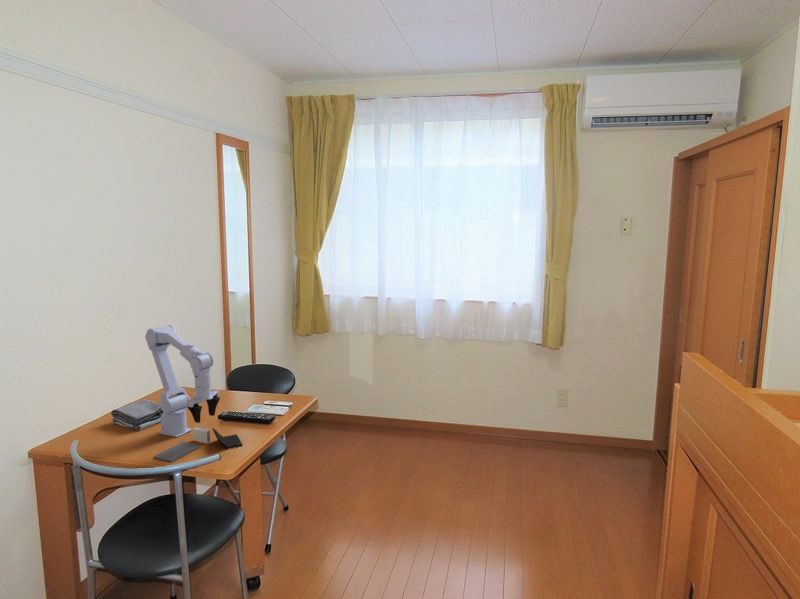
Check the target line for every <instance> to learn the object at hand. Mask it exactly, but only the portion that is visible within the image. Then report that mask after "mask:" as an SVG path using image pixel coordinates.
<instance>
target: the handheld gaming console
mask: <svg viewBox="0 0 800 599" xmlns="http://www.w3.org/2000/svg"><path fill="white" fill-rule="evenodd" d="M211 429H212V432H213V433H214V436H215V437H216V440H218V441H219V442H220V443H221V444H222V445H223V446H224V447H225V449H226V450H229V449H228V448H231V449H234V448H233V447H236V448H240V447H243V442H242V441H241V439H240V437H239V436H238V434H231V435H230V434H229V435H225V436H223V435H221V434H220V433H219V432H218V431H217V430H216V429H215V428H214V427H213V428H211ZM239 446H240V447H239Z"/></svg>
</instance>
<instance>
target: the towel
mask: <svg viewBox="0 0 800 599" xmlns="http://www.w3.org/2000/svg"><path fill="white" fill-rule="evenodd" d="M110 414H111V416H112V422H111V423H113V424H115V425H117V424H118V425H117V426H121V427H126V428H129V427H131V428H130V429H133V428H134V430H136V429H138V430H137V431H143V430H145V429H147V428H150V427H152V426H151V425H153V424H155V425H157V424H156V423H158V424H160V423H161V416H162V414H163V411H162V409H161V402H156V401H152V400H148V399H145V398H143V399H140V400H137V401H135V402H133V403H129V404H126V405H124V406H120V407H118V408H115V409H112V411H111V413H110ZM159 422H160V423H159ZM149 426H150V427H149ZM153 426H154V425H153ZM144 428H145V429H144ZM142 429H143V430H142Z"/></svg>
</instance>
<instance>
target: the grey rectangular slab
mask: <svg viewBox="0 0 800 599" xmlns="http://www.w3.org/2000/svg"><path fill="white" fill-rule="evenodd" d="M201 447H202V445H200V444H196V443H191V442H187V441H182V442H179V443H177V444H176V445H174V446H172V447H169V448H168V449H165V450H164V451H162V452H159V453H158V454H156V455H154V456H153V457H154V458H153V457H152V458H153V459H156V458H158V459H157V460H160V461H164V460H165V461H164V462H168V461H169V463H174V462H175V461H177V460H178V459H181V458H183V457H184V456H186V455H188V454H190V453H192V452H194V451H196V450H198V449H199V448H201Z"/></svg>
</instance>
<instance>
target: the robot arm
mask: <svg viewBox="0 0 800 599" xmlns="http://www.w3.org/2000/svg"><path fill="white" fill-rule="evenodd" d="M144 338H145V341H146V344H147V346H148V349H149V351H151V355H152V357H153V360H154V363H155V365H156V366H155V367H156V369H157V372H158V374H159V377H160V382H161V384H162V387H163V390H164V391H163V393H161V395H160V397H159V399H160V400H159V401H160V403H161V409H162V411H163V414H162V416H161V422H160V423H161V424H160V425H161V431H160V434H161V435H166V436H170V437H174V438H178V437H180V436H183V435H184V434H187V433H189V432H191V431H193V428H189V427H188V425H187V423H188V422H187V411H188V410H189V412H190V414H191V415H192V418H193V420H194V423H196V424H199V423H200V422H201V412H202V408H203V406H201V405H200V403H202V402H205V401H206V404H207V408H208V409H207V410H208V415H209V416H212V417H214V416H215V414H216V410H217V407H218V404H219V403H220V402H219V401H220V400H221V398H220V391H219V390H217V389H214V390H212V385H211V384H212V383H211V367H212V366H213V365H214V359H213V356H212V355H211V354H210V353H209V352H202V351H201V350H200V349H198V347H196V346H195V345H194V344H193V343H186V341H184V340H183V339H182V337H180V336H179V334H178V333H177V329H176V328H175V327H174V326H173V325H171V324H167V325H165V326H160V327H159V326H158V327H153V328H148V329H147V330H146V333H145V336H144ZM170 346H173V347H174V348H176V349H177V350H178V351H180V352H179V355H180V356H181V357H182V358H184V359H185V361H187V362H189V365H190V368H191V370H192V374H193V376H194V392H195V393H194V394H195V396H194V397H193V398H191V399H190V396H189V395H188V394H187V392H186V389H184V388H183V387H181V386H179V384H178V381H177V379H176V375H175V374H174V369H173V367H172V364H171V361H170V358H169V356H168V352H167V349H168V347H170Z"/></svg>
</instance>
